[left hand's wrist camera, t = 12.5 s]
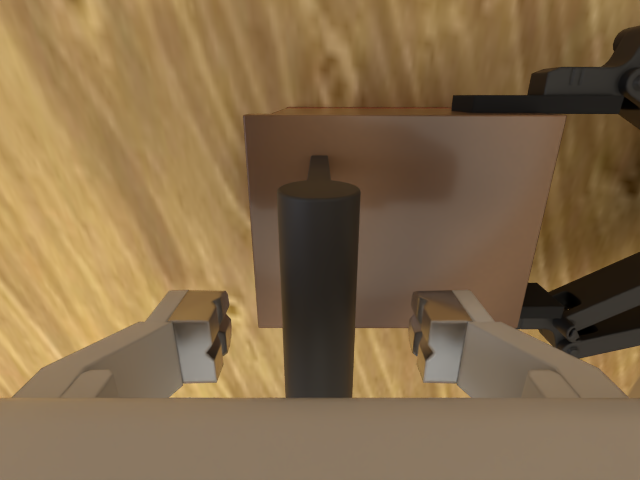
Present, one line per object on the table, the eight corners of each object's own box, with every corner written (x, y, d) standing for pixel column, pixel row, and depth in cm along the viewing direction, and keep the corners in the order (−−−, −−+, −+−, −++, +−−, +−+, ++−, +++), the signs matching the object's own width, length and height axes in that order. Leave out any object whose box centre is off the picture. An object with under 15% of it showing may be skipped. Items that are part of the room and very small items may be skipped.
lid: (261, 315, 19) (219, 471, 11) (247, 113, 15) (171, 132, 7) (507, 316, 19) (639, 472, 11) (551, 114, 15) (795, 132, 7)
